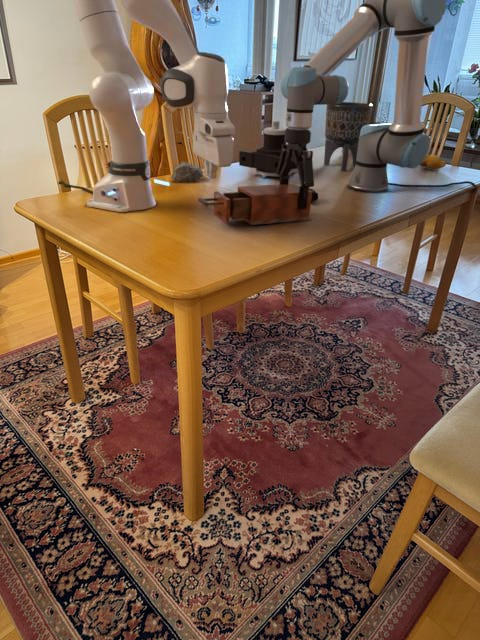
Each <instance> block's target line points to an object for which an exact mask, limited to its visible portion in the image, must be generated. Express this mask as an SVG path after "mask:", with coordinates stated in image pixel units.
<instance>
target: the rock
mask: <svg viewBox="0 0 480 640" xmlns="http://www.w3.org/2000/svg"><path fill="white" fill-rule="evenodd" d="M201 178H202V179H203V178H204V171H203V170H202V169H201V168H200V167H199V166H197V165H194V164H192V163H189V162H186V161H181V163H180V164H179V165H177V166H176V167H175V168H174V169H173V171H172V173H171V179H170V180H171V181H172V182H177V183H189V182H191V183H192V182H196V181H197V180H200V179H201Z"/></svg>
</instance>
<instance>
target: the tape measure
mask: <svg viewBox="0 0 480 640" xmlns="http://www.w3.org/2000/svg"><path fill="white" fill-rule="evenodd" d="M309 191H311V192H312V200H311V202H317V201H318V200H319V194H318V192H316V190H315V189H313V188H309Z"/></svg>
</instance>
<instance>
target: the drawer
mask: <svg viewBox="0 0 480 640" xmlns="http://www.w3.org/2000/svg"><path fill="white" fill-rule="evenodd" d="M197 201H198V202H199V203H200V204H201V205H202V206H204V207H205V208H208V207H209V206H213V211H212V213H213V215H214V216H216V217H217V218H218V219H220V220H221V221H222V222H224V223H225V224H229V223H230V222H231V220H232V221H238V220H239V221H240V220H243V219H250V216H251V202H252V198H251V197H250V196H248V195H246V194H244V193H242V192H237V191H235V192H234V191H232V192H223V193H221V192H219V191H213V197H211V198H210V197H209V198H203V197H199V198H198V199H197Z"/></svg>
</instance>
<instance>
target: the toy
mask: <svg viewBox="0 0 480 640" xmlns="http://www.w3.org/2000/svg"><path fill="white" fill-rule="evenodd" d="M418 166H420V167H425V168H427V169H429V170H432V171H433V170H434V171H435V170H438V169H443V168H444V167H446V166H447V162H446V161H444V160H442V159H441V158H440V156H439V155H435V154H431V155H426V157H425V158H424V160H423V161H422V162H421V163H420V164H419V165H418Z"/></svg>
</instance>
